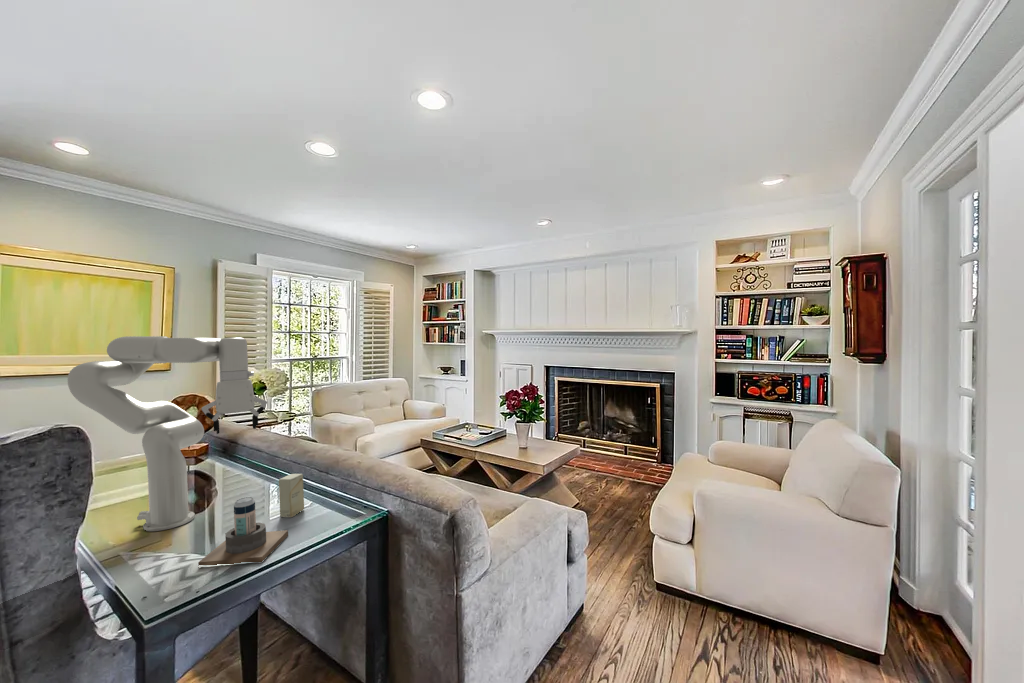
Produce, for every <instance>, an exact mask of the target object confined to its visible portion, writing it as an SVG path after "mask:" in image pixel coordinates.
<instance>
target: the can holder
mask: <svg viewBox="0 0 1024 683" xmlns="http://www.w3.org/2000/svg"><path fill="white" fill-rule="evenodd" d="M288 536H289V530H287V529H285V530H275V531H274V530H273V531H267V526H266V524H265V523H264V522H262V523H261V522H256V531H255V532H253V533H250V534H247V535H243V536H235V527H234V528H230V529H229V530H228V531H227V532H226V533H225V535H224V537H225V538H224V539H225V540H224V541H223V542H222V543H220V544H219V545H218V546H217V547H215V548H214V549H212V550H211V551H210V552H209V553H208V554H207V555H205V556H204V557H203V558H202V559H201V560H199V561H198V566H199V565H217V564H234V563H241V562H262V561H263V560H264V559H265V558H266V557H267V556H268V555H269V554H270V553H271V552H272V551H273V550H274V549H275V548H276V547H277V546H278V545H279V544H280V543H281V542H284V540H285V539H286V538H287V537H288ZM281 544H282V543H281ZM281 544H280V545H281ZM280 545H279V546H280ZM279 546H278V547H279ZM278 547H277V548H278ZM277 548H276V549H277ZM276 549H275V550H276ZM275 550H274V551H275ZM274 551H273V552H274ZM273 552H272V553H273ZM272 553H271V554H272ZM271 554H270V555H271ZM270 555H269V556H270ZM269 556H268V557H269ZM268 557H267V558H268ZM267 558H266V559H267ZM266 559H265V560H266Z"/></svg>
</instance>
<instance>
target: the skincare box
mask: <svg viewBox="0 0 1024 683" xmlns="http://www.w3.org/2000/svg"><path fill="white" fill-rule="evenodd" d="M278 492H279V493H278V494H279V496H278V497H279V517H280V518H293V517H295V516H296V514H297V515H298V513H299V512H300V511H302V510H303V509H304V510H305V494H304V474H303V473H290V474H288V475H286V476H283V477H280V478H278ZM302 512H303V511H302ZM300 513H301V512H300ZM300 513H299V514H300Z"/></svg>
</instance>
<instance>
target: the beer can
mask: <svg viewBox="0 0 1024 683" xmlns="http://www.w3.org/2000/svg"><path fill="white" fill-rule="evenodd" d="M256 517H257V514H256V501H255V499H254V498H253V497H252V496H250V497H248V496H247V497H242V498H239V499H237V500H235V502H234V504H233V518H234V520H233V521H234V528H235V536H243V535H247V534H250V533H253V532H255V531H256V523H257V518H256Z"/></svg>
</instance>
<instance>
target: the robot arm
mask: <svg viewBox="0 0 1024 683" xmlns="http://www.w3.org/2000/svg"><path fill="white" fill-rule="evenodd" d="M106 353H107V355H108V356H109V358H110V359H112V360H95V361H93V360H92V361H87V362H83V363H80V364H78V365H76V366H74V367H73V368H72V369H71V370H70V371H69V373H68V375H67V386H68V389H69V391H70V394H71V395H72V396H73V397H74V398H75V399H76V400H77V401H78V402H79V403H81V404H82V405H84V406H86V407H87V408H89V409H91V410H93V411H94V412H96V413H98V414H100V415H101V416H103V417H104V418H105V419H107V420H108V421H110V422H111V423H113V424H114V425H116V426H118V427H119V428H121V430H123V431H125V432H127V433H129V434H132V435H133V434H134V435H139V434H143V437H142V439H141V444H142V445H141V446H142V449H143V452H144V456H145V459H146V469H147V482H148V483H147V485H148V486H147V488H148V510H141V511H139V513H138V516H137V518H136V520H138V521H142V520H145V522H144V524H143V526H142V528H143V530H144V531H145V530H146V532H158V531H166V530H169V529H173V528H177V527H180V526H183V525H185V524H187V523H189V522H192V521H193V520H195V518H196V515H195V514H196V513H195V512H194V511H190V510H189V493H188V492H189V491H188V490H189V489H188V470H187V469H188V468H187V461H186V457H185V456H184V455H183V453H182V451H181V450H182V449H185V448H188V447H191V446H194V445H196V444H197V443H199V442H201V440H202V439H203V437H204V434H205V429H204V425H203V424H202V422H201V421H200V420H199V419H197V418H196V417H195V416H193V415H192V414H190V413H189V412H187V411H186V410H184V409H182V408H181V407H179V406H178V405H177V404H175V403H172V401H171V402H170V401H168V400H161V399H160V400H153V401H152V400H151V401H140V400H138V399H136V398H134V397H133V396H132V395H130V394H129V393H127V392H125V391H122V390H120V389H117V388H113V387H120V386H126V385H130V384H131V383H133V382H135V381H137V379H139V378H140V377H141V376H143V374H144V373H146V371H148V370H149V369H150V368H151V367H152V366H153V365H154V364H167V363H173V364H175V363H176V364H178V363H179V364H181V363H182V364H183V363H184V364H185V363H186V364H192V363H194V364H195V363H207V362H208V363H210V362H219V381H217V383H216V387H215V388H216V389H215V400H213V401H211V402H210V403H208V404H206V405H204V406H202V407H201V411H202V412H203V413H204V415H205V416H206V418H209V419H210V420H212V423H213V431H214V432H216V435H218V434H220V419H219V418H220V417H221V415H224V414H225V415H227V414H228V415H229V414H235V413H236V414H237V413H244V412H249V413H251V414H252V416H251V418H252V419H251V420H252V429H253V430H256V429H257V427H258V426H259V415H260V414H261V413H262V412H263V411H264V410H265V408H266V407H267V404H268V401H267V400H265V399H262V398H259V397H256V396H255V394H254V393H255V392H254V387H253V381H252V379H249V378H250V377H254V375H255V374H254V373H255V372H254V371H249V363H248V362H249V358H248V342H247V339H246V338H244V337H222V338H220V337H218V338H217V337H168V336H165V335H163V336H161V335H159V336H158V335H156V336H155V335H153V336H143V335H141V336H140V335H138V336H136V335H135V336H134V335H133V336H129V335H128V336H121V337H117V338H115V339H113V340H111V341H110V342H109V343H108V344H107V347H106ZM255 403H259V404H260V406H259V407H258V408H257V409H255ZM213 407H215V410H216V413H215V414H213V413H211V412H210V409H211V408H213Z"/></svg>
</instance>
